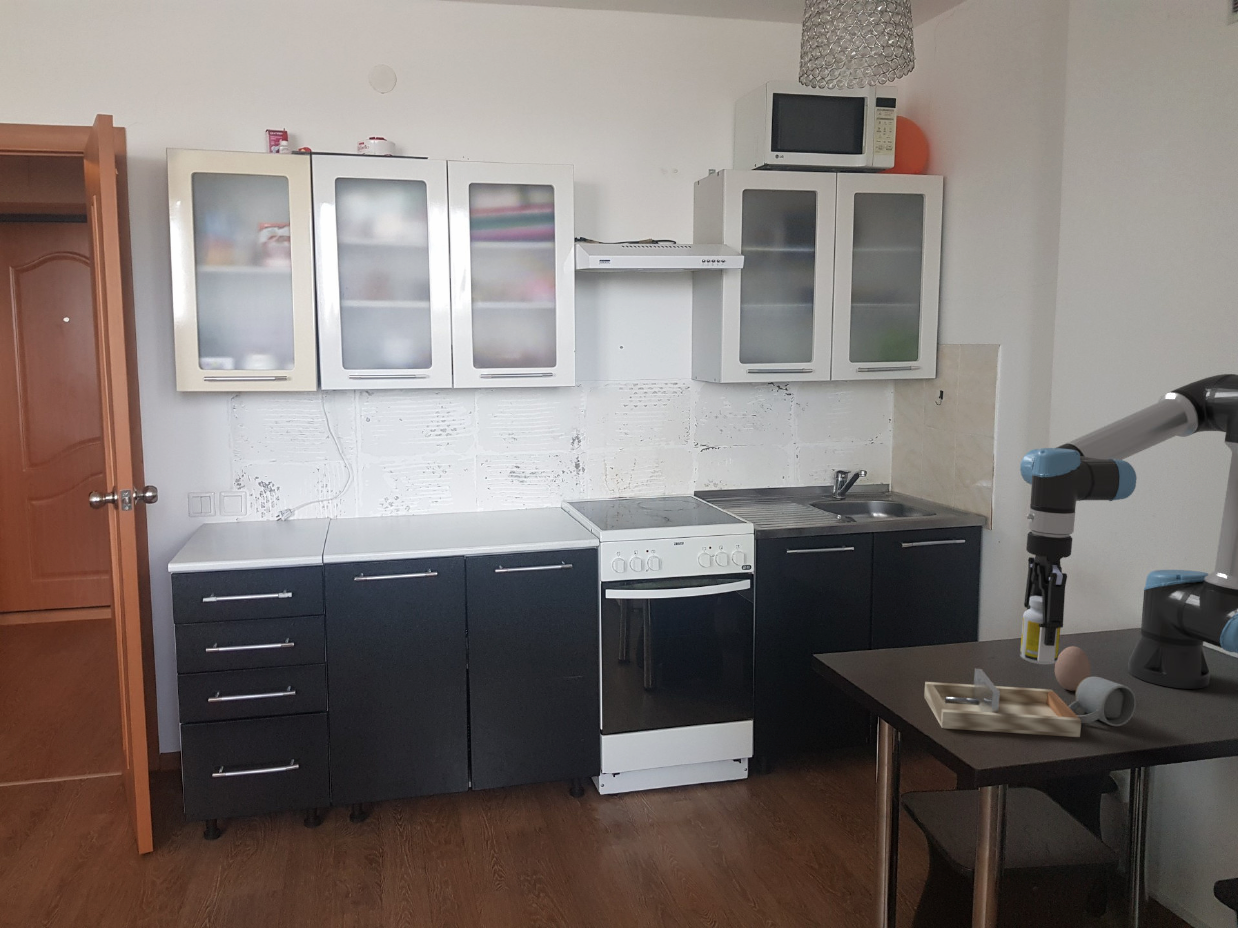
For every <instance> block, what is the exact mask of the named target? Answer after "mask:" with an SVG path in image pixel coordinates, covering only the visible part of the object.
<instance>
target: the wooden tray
mask: <svg viewBox="0 0 1238 928" xmlns="http://www.w3.org/2000/svg"><path fill="white" fill-rule="evenodd" d="M995 687H996V688H997V689H998V690H999V692H1000V696H999V708H998V713H993V712H982V711H981V709H980V708H979V706H978V705H966V704H950V703H945V697H958V698H973V688H974V684H966V683H949V682H935V681H934V682H933V681H925V683H924V693H923V694H924V696H923V697H924V700H925V701H926V702H927V704H928V706H929V708H930V709H931V712H932V713H933V714H934V717H935V718H936V720H937V721H938V724H939V725H940V727H941V728H942V729H949V730H950V729H951V730H966V731H967V730H968V731H980V732H981V731H982V732H997V733H999V732H1000V733H1013V734H1027V735H1040V736H1055V737H1056V736H1059V737H1069V738H1071V737H1073V738H1080V737H1081V730H1082V729H1081V728H1082V723H1081V720H1080V719H1079V717H1078V716H1077V715H1078V714H1076V713H1075V711H1074V712H1073V711H1072V710H1071V709H1070V708H1069V705H1067V703H1065V701H1063V699H1062V698H1061V697H1059V695H1058V694H1057V693H1056V692H1055V691H1054V690H1053V689H1047V688H1032V687H1016V686H1002V685H1001V686H999V685H998V686H997V685H995Z"/></svg>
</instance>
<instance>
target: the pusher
mask: <svg viewBox="0 0 1238 928" xmlns="http://www.w3.org/2000/svg"><path fill="white" fill-rule="evenodd" d="M973 675H974V676H973V677H974V678H973V685H974V688H973V698H958V697H945V703H950V704H966V705H978V706H979V708H980V709H981V711H982V712H993V713H998V708H999V696H1000V692H999V690H998V689H997V688H996V687H995V686H996V685H995V684H994V683H993V682H992V680H991V679H990V678H989V676H987V674H986V672H985V671H983V669H982V668H974V674H973Z"/></svg>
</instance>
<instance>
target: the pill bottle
mask: <svg viewBox="0 0 1238 928" xmlns="http://www.w3.org/2000/svg"><path fill="white" fill-rule="evenodd" d="M1029 605H1030V606H1031V608H1030V609H1028V610H1027V609H1026V610H1025V611H1024V612H1023V615H1022V622H1021V623H1022V624H1021V638H1020V651H1019V654H1020V655H1019V656H1020V658H1021V659H1023V660H1025V661H1026V662H1029V663H1032V664H1036V665H1037V664H1038V665H1055V663H1056V662H1057V660H1058V656H1059V650H1060V649H1059V647H1060V639H1061V628H1057V637H1056V647H1055V658H1054V662H1039V661H1038V660H1037V658H1038V647H1039V636H1040V627H1039V624H1043V609H1042V596H1031V597H1030V601H1029Z"/></svg>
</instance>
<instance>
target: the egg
mask: <svg viewBox="0 0 1238 928" xmlns="http://www.w3.org/2000/svg"><path fill="white" fill-rule="evenodd" d="M1091 671H1092V669H1091V663H1090V660H1089V657H1088V655H1087V653H1086V652H1085V651H1084V650H1082V648H1080V647H1078V646H1074V645H1072V646H1068V647H1065V648H1064V649H1063V650H1062V651H1061V652H1060V653H1058V660H1057V662H1056V663H1054V675H1055V678H1056V680H1057V682H1058V684H1059V685H1060V686H1061V687H1062V688H1064V689H1065V690H1068V691H1070V692H1076V689H1077V686H1078V685H1079V683H1080V682H1081V681H1082V680H1083V679H1085V678H1087V677H1091V673H1092V672H1091Z"/></svg>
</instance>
